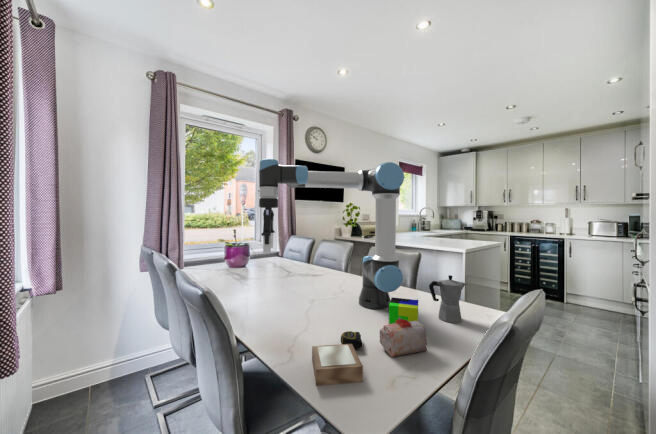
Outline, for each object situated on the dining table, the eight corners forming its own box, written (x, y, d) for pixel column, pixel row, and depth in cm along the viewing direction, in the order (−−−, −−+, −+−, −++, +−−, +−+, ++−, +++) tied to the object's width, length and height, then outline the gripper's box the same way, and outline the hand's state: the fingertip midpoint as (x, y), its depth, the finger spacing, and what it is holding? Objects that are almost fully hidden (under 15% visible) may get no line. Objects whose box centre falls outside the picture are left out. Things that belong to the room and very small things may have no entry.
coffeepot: (459, 314, 116) (460, 273, 116) (471, 323, 107) (472, 278, 106) (424, 314, 115) (424, 272, 115) (433, 323, 106) (434, 278, 106)
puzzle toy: (418, 325, 104) (418, 300, 104) (417, 336, 95) (418, 308, 94) (391, 322, 107) (391, 297, 107) (388, 332, 98) (389, 305, 98)
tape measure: (362, 352, 84) (362, 340, 84) (340, 351, 84) (340, 339, 84) (360, 341, 91) (360, 330, 91) (340, 340, 91) (340, 330, 91)
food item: (390, 360, 79) (390, 327, 79) (377, 347, 87) (377, 317, 87) (429, 353, 83) (429, 321, 83) (413, 341, 91) (414, 312, 91)
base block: (351, 357, 81) (352, 343, 81) (362, 381, 69) (362, 365, 69) (312, 359, 79) (312, 345, 79) (316, 385, 67) (316, 368, 67)
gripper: (262, 199, 120) (262, 246, 121) (255, 195, 96) (254, 255, 96) (279, 199, 121) (279, 246, 122) (276, 196, 97) (276, 254, 97)
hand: (268, 250), depth 109 cm, fingers open, 13 cm apart
